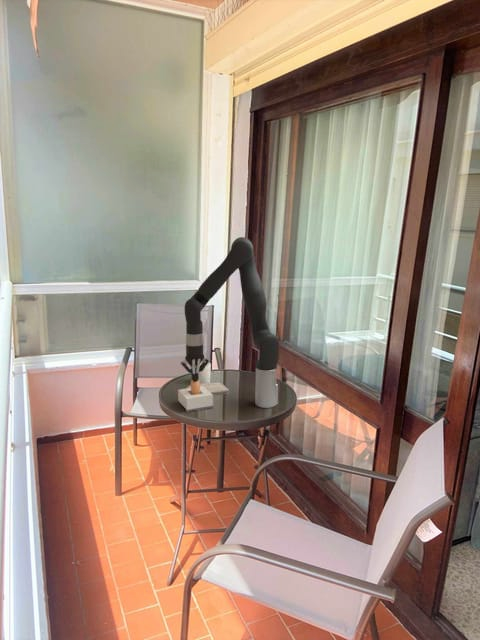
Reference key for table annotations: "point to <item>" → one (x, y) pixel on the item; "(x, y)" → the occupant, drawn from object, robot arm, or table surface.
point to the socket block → (195, 399)
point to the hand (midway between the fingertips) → (194, 380)
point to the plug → (195, 387)
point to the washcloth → (215, 388)
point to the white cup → (205, 374)
